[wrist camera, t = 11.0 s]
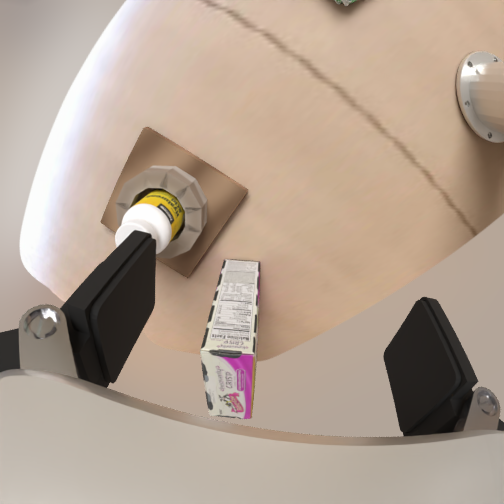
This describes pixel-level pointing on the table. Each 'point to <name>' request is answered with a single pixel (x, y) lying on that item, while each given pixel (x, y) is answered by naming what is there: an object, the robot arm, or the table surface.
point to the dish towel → (345, 2)
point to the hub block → (184, 188)
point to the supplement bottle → (153, 218)
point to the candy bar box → (232, 341)
